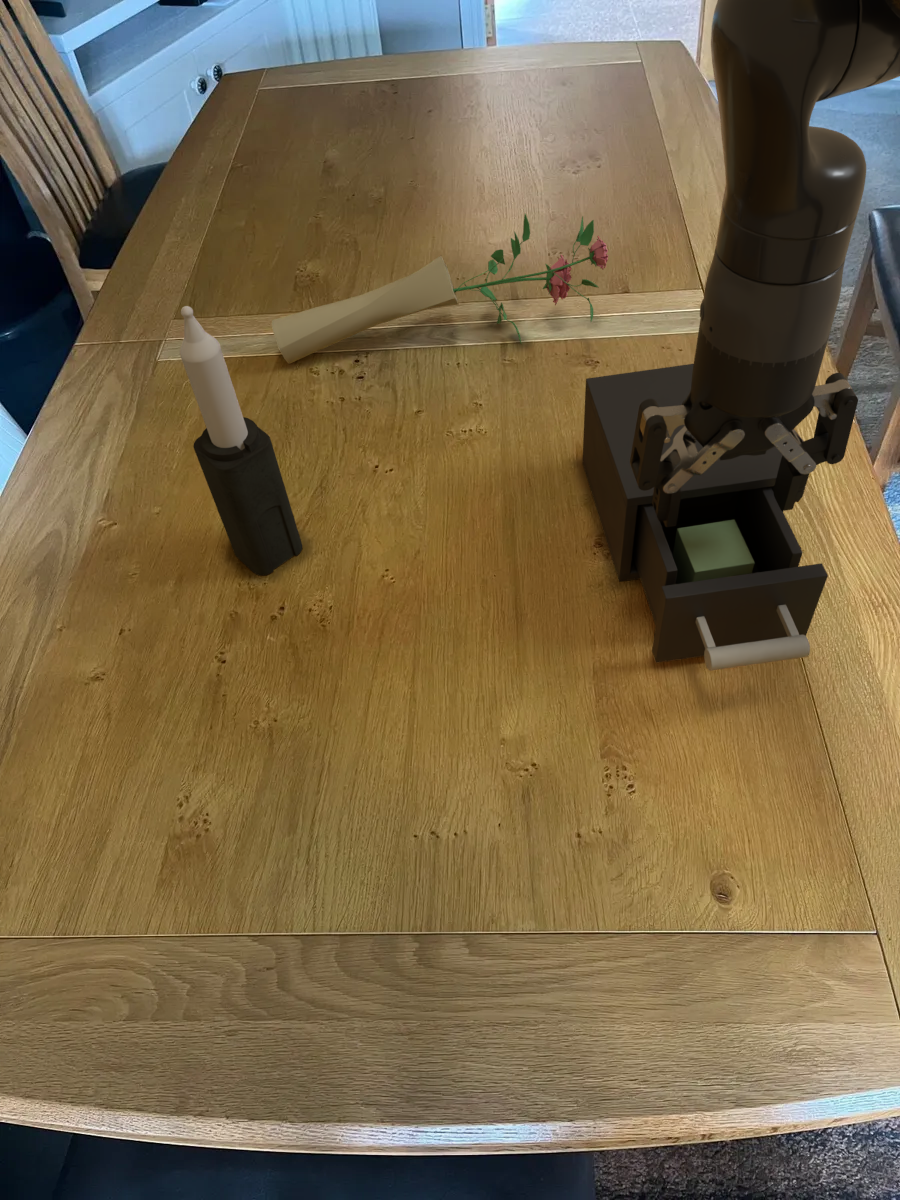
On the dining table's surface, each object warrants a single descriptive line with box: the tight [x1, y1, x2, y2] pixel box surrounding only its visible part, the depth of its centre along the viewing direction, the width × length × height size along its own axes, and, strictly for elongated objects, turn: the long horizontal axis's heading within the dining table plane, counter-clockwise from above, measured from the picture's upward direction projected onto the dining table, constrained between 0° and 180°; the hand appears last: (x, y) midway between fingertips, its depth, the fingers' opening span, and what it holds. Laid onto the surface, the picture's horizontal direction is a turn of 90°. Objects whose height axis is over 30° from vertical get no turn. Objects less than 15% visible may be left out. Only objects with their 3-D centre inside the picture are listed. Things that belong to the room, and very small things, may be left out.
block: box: [673, 520, 755, 584], centre depth 73 cm, size 5×5×5 cm
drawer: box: [632, 486, 829, 672], centre depth 72 cm, size 18×12×8 cm, turn 7°
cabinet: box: [581, 363, 782, 582], centre depth 79 cm, size 15×13×10 cm
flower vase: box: [271, 213, 609, 365], centre depth 98 cm, size 12×12×35 cm
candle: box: [179, 305, 303, 577], centre depth 74 cm, size 5×5×25 cm
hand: (724, 510), depth 68 cm, fingers open, 8 cm apart
